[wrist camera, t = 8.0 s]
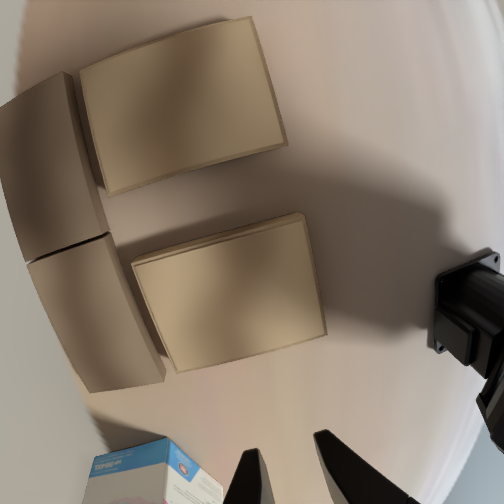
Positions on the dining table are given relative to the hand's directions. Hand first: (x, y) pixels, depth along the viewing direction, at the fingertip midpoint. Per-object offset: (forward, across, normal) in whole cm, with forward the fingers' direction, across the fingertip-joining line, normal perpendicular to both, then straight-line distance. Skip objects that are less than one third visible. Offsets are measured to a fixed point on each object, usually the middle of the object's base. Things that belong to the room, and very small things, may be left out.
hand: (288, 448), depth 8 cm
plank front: (+11, +1, -11) cm, 15 cm away
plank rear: (+11, +1, 0) cm, 11 cm away
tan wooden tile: (+11, +9, -6) cm, 15 cm away
